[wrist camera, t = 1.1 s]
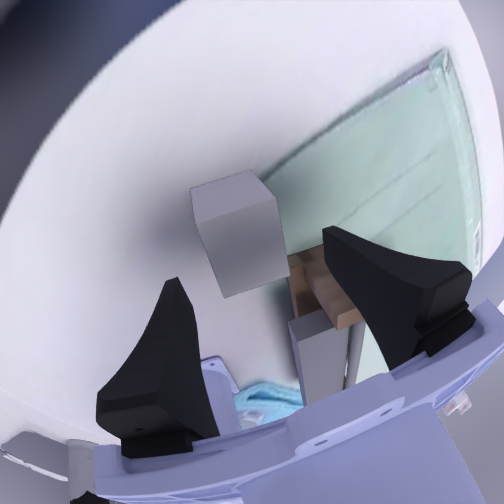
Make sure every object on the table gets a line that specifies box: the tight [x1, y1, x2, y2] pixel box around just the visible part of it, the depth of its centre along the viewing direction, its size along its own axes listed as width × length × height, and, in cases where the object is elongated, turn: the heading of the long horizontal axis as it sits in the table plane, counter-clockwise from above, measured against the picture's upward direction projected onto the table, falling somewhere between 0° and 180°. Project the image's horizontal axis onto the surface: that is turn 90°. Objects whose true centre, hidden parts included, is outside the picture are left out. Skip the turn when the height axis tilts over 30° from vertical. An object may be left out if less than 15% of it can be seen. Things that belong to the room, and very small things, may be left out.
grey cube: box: [190, 170, 290, 298], centre depth 17 cm, size 4×5×5 cm
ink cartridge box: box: [442, 390, 472, 415], centre depth 57 cm, size 9×5×15 cm, turn 12°
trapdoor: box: [288, 308, 389, 407], centre depth 24 cm, size 11×18×3 cm, turn 12°
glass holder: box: [66, 439, 116, 504], centre depth 31 cm, size 9×14×15 cm, turn 35°
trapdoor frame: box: [287, 245, 364, 390], centre depth 25 cm, size 5×22×7 cm, turn 13°
